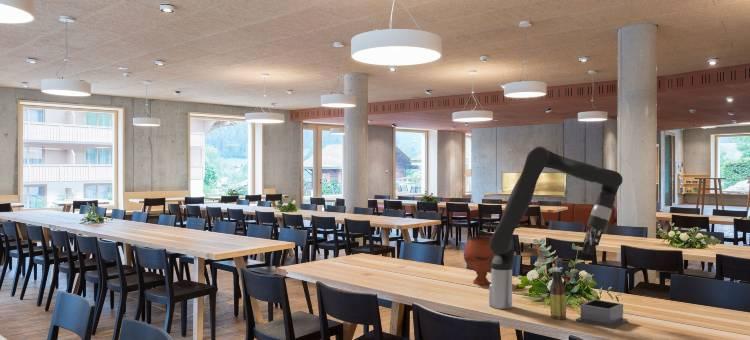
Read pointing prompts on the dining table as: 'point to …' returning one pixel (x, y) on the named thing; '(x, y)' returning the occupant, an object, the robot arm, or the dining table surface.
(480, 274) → the goblet
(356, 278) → the dining table surface
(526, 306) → the dining table surface
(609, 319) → the box
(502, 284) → the robot arm
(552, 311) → the sauce bottle
